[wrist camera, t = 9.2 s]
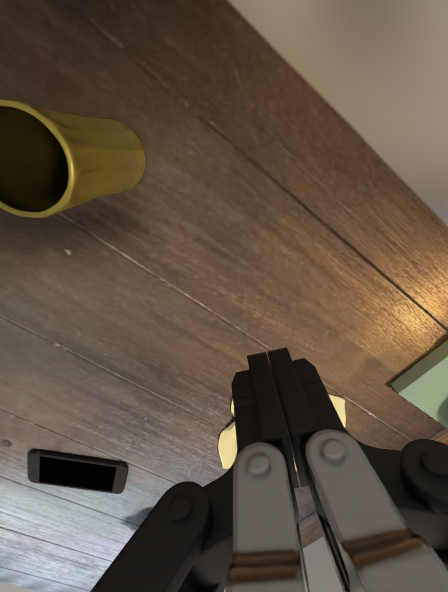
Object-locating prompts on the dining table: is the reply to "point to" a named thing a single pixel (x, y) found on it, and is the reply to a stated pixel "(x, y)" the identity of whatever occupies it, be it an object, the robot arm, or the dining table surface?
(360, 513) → the robot arm
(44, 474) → the smartphone
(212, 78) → the dining table surface
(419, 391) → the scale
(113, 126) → the vase
